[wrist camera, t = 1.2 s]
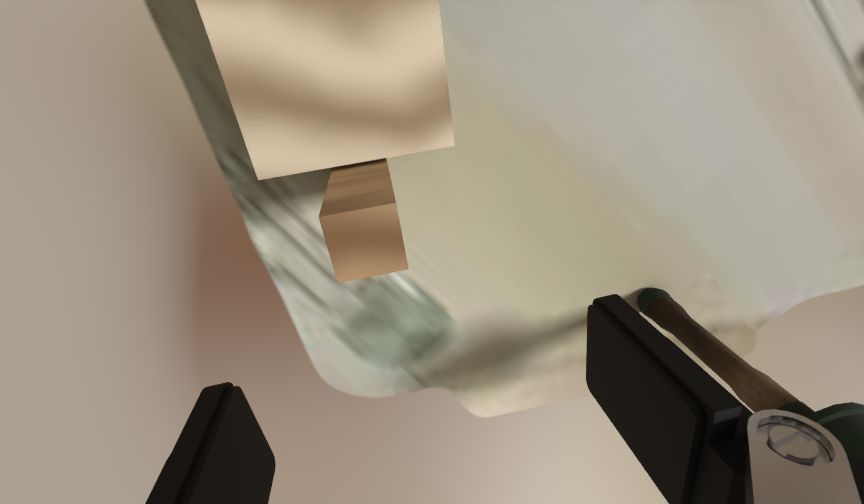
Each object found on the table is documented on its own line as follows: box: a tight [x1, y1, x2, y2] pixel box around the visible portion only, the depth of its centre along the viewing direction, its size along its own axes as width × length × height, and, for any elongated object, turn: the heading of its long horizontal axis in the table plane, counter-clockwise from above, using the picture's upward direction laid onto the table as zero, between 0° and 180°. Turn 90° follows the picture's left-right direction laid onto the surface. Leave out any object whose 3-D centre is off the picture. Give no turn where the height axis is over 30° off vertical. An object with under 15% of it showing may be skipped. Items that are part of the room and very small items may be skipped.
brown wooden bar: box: [319, 158, 408, 283], centre depth 29 cm, size 4×4×18 cm
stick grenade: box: [638, 288, 864, 459], centre depth 37 cm, size 8×9×30 cm
